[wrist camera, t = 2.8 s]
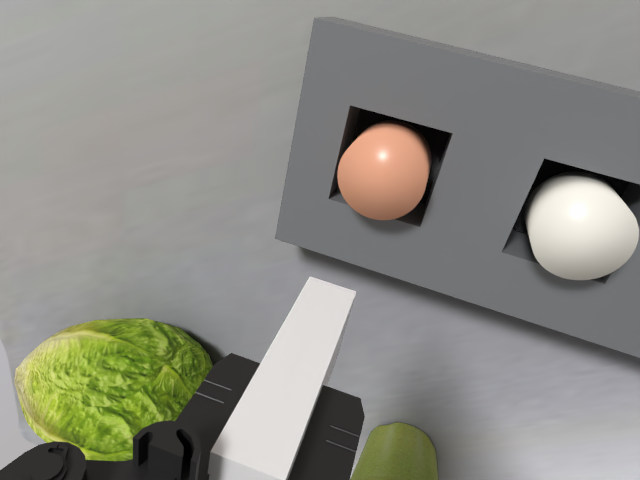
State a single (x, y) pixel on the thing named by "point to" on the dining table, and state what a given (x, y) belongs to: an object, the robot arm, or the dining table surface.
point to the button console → (463, 173)
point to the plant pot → (397, 455)
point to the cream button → (579, 226)
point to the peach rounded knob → (385, 170)
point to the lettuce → (109, 383)
